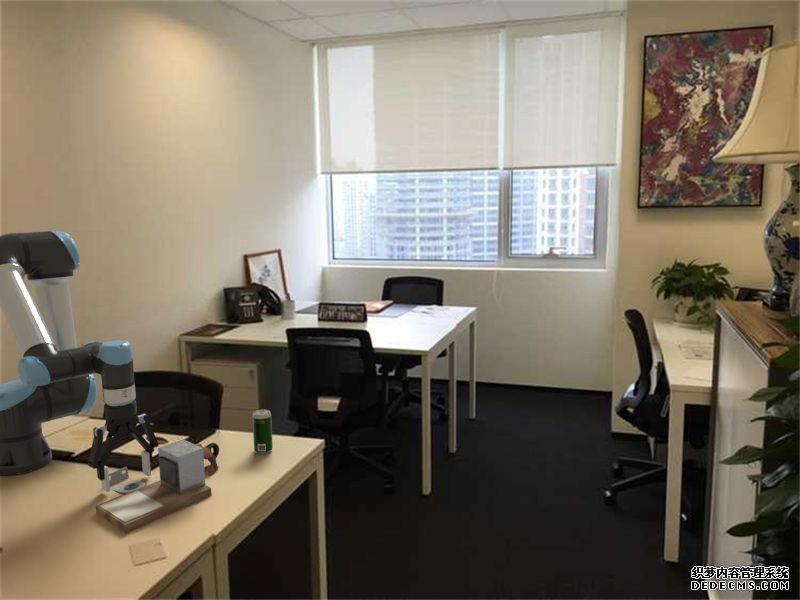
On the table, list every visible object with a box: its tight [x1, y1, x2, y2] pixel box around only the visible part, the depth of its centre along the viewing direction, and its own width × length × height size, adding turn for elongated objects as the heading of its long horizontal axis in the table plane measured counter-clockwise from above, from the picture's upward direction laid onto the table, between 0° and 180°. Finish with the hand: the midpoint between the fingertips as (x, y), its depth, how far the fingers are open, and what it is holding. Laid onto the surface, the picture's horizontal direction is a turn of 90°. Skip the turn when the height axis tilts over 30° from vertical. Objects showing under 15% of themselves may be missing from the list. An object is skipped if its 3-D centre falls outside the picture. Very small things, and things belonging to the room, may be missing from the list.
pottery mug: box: [196, 442, 220, 476], centre depth 171 cm, size 12×10×8 cm
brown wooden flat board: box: [95, 479, 212, 534], centre depth 152 cm, size 14×22×2 cm, turn 141°
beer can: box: [252, 409, 274, 455], centre depth 182 cm, size 5×5×12 cm
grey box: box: [157, 439, 206, 495], centre depth 157 cm, size 9×8×10 cm
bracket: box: [108, 466, 146, 494], centre depth 161 cm, size 7×10×4 cm, turn 57°
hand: (127, 482), depth 162 cm, fingers open, 10 cm apart
